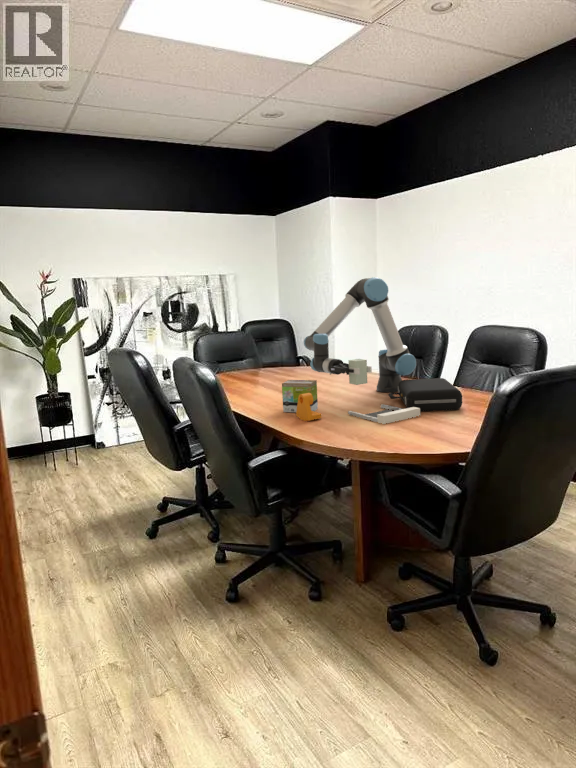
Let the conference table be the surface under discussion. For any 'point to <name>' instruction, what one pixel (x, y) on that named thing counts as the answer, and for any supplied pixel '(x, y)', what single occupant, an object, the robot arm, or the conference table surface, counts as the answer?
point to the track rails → (371, 416)
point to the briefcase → (429, 394)
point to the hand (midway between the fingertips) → (365, 370)
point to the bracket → (306, 408)
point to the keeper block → (362, 376)
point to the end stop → (398, 415)
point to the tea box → (298, 393)
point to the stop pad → (378, 413)
